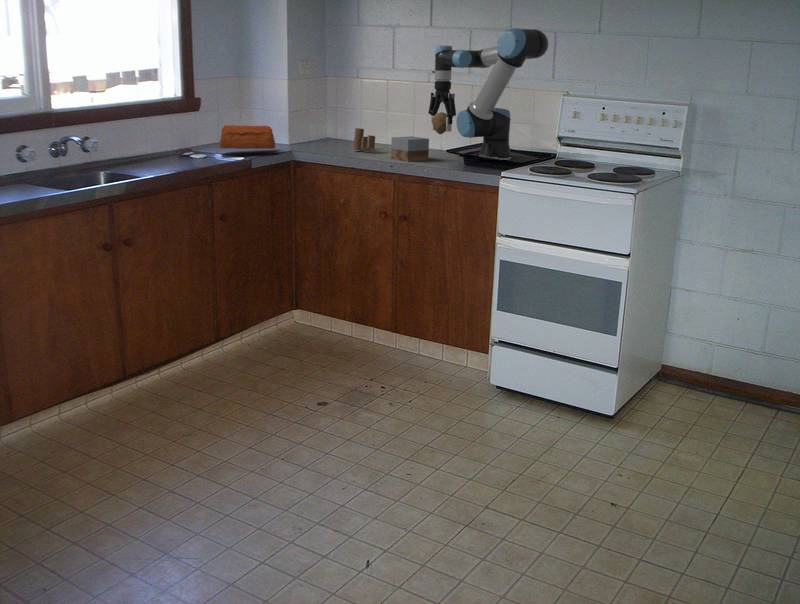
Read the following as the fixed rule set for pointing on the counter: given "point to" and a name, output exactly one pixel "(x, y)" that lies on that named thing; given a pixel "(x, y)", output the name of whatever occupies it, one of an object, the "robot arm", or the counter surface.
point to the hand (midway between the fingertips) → (441, 130)
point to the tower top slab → (410, 143)
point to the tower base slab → (409, 155)
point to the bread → (247, 137)
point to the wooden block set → (363, 140)
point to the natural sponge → (439, 122)
